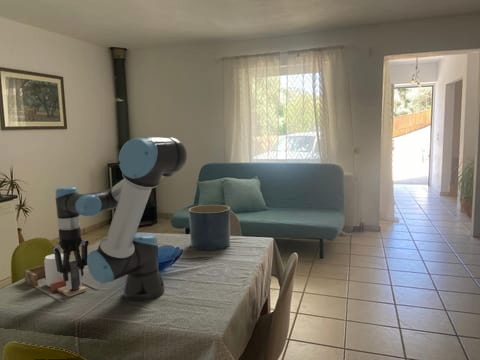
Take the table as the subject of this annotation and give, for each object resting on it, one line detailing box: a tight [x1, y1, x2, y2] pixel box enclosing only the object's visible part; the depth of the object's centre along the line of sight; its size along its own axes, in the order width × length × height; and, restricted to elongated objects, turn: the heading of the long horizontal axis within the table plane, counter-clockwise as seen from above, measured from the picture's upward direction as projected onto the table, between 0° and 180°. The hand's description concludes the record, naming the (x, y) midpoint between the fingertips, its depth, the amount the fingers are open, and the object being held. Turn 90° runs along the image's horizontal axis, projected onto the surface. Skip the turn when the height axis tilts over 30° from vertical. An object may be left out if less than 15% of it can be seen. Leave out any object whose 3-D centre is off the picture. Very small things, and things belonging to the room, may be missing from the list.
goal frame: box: [23, 264, 46, 288], centre depth 157 cm, size 10×14×5 cm
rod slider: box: [49, 260, 87, 298], centre depth 143 cm, size 10×11×12 cm
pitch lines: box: [34, 280, 99, 303], centre depth 147 cm, size 23×14×1 cm, turn 51°
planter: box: [188, 204, 231, 252], centre depth 199 cm, size 22×22×20 cm
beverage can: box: [43, 252, 64, 288], centre depth 151 cm, size 8×8×12 cm
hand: (74, 286), depth 142 cm, fingers closed on rod slider, 3 cm apart
